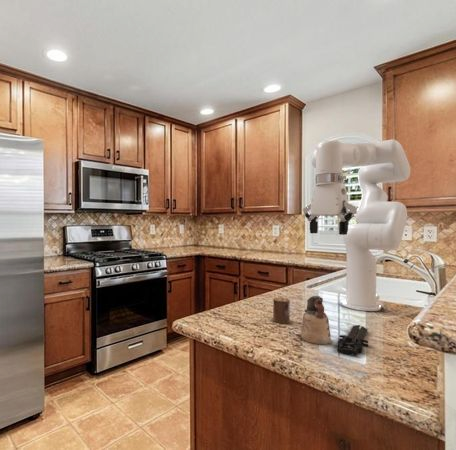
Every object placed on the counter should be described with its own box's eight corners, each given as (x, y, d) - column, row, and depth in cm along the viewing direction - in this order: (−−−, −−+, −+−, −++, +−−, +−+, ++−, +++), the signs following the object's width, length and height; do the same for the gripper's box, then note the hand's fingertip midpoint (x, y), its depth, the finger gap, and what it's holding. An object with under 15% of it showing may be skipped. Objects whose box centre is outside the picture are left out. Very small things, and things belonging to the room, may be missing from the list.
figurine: (324, 335, 88) (324, 293, 88) (335, 345, 81) (336, 299, 81) (297, 334, 89) (298, 292, 89) (306, 343, 82) (307, 298, 82)
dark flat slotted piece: (354, 326, 96) (354, 322, 96) (379, 331, 92) (379, 327, 92) (328, 349, 78) (329, 344, 78) (359, 358, 74) (359, 352, 74)
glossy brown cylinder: (280, 317, 104) (280, 296, 104) (293, 322, 100) (293, 300, 100) (269, 320, 102) (270, 298, 101) (282, 324, 97) (283, 302, 97)
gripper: (363, 178, 95) (362, 234, 95) (311, 184, 110) (310, 232, 110) (349, 176, 91) (348, 235, 91) (297, 182, 106) (296, 233, 106)
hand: (327, 233), depth 101 cm, fingers open, 9 cm apart
